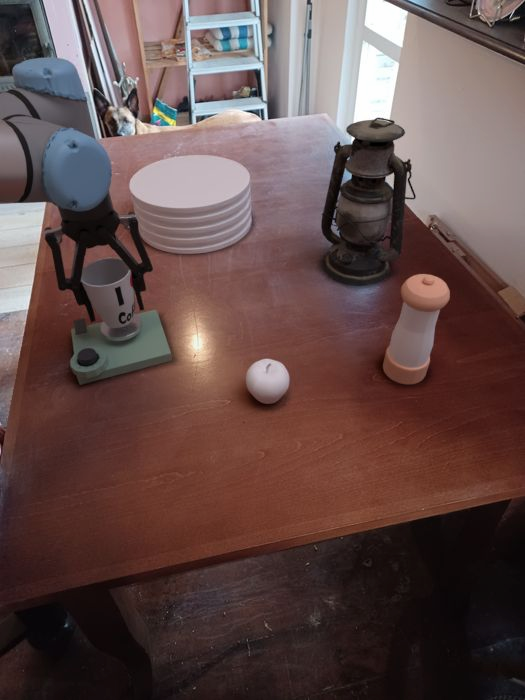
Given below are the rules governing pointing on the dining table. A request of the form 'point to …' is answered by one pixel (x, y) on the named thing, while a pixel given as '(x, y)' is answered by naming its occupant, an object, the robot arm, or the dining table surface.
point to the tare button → (87, 357)
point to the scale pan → (113, 329)
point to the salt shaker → (415, 328)
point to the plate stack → (192, 203)
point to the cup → (110, 290)
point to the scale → (121, 350)
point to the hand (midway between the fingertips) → (116, 311)
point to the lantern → (365, 204)
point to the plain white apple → (267, 380)
